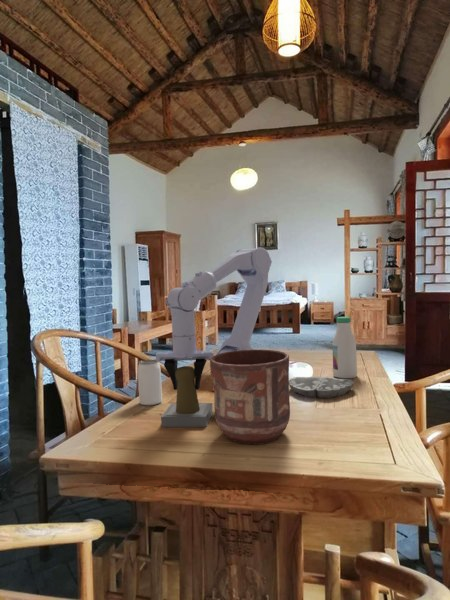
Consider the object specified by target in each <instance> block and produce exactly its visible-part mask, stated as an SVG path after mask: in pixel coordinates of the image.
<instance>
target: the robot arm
mask: <svg viewBox="0 0 450 600" xmlns="http://www.w3.org/2000/svg"><path fill="white" fill-rule="evenodd" d="M272 262H273V261H272V258H271V256H270V254H269V252H268V250H267V249H265V248H264V247H262V246H261V247H260V246H259V247H257V248H256V247H255V248H247V249H237V250H236V251H234V252H232V253H231V254H229V256H228V257H227V258H225V259H224V260H223V261H222V262H220V263H219V264H217V266H215V267H214V268H212V269H211V270H210V271H206V270H202V271H196V272H195V273H194V274H195V276H193V277H192V278H191V279H189V280H188V281H183V282H182V283H181V286H180V287H174V288H172V289H171V290H170V291H169V293H168V295H167V298H166V299H165V303H166V305H167V307H168V308H169V310H170V315H171V330H172V347H173V348H172V351H163V352H156V353H155V360H156V361H159V362H163V361H164V363H163V367H164V368H165V370H166V372H167V374H168V376H169V378H170V380H171V382H172V387H173V390H175V391H177V384H178V380H177V379H176V377H175V371H176V369H177V368H178V364H179V363H178V361H194V362H193V368H194V369H195V378H194V382H195V388H196V390H199V389H200V386H201V380H202V374H203V371H204V369H205V366H206V363H207V360H208V361H210V359H211V358H212V357H213V356H215V355H218V354H221V353H225V352H230V351H238V350H254V348H253V347H252V345H251V344H250V341H251V338H252V334H253V332H254V330H255V327H256V323H257V319H258V316H259V313H260V311H261V306H262V303H263V301H264V298H265V297H264V296H265V294H266V292H267V288H268V283H269V272H270V270H271V269H270V268H271V266H272ZM235 271H236V272H237V273H238V274H239V275H240V277H241V278H242V279H243V281H244V282H245V283H246V288H245V290H244V294H243V297H242V300H241V304H240V306H239V309H238V312H237V315H236V318H235V321H234V324H233V327H232V330H231V333H230V336H229V337H228V338H226V339H225V340H224V341H223V342H222V344H221V346H220V348H219V350H217V352H216V353H215V352H214V350H211V351H210V350H197V342H196V341H197V340H196V323H195V322H196V319H195V317H196V316H195V310H196V308H197V307H198V305H199V303H200V301H201V300H203V299H204V298H205V297H206V296H208V295H209V294H211V293H212V292H214V291H215V289H216V288H217V283H219V282H221V281H222V280H223V279H225V278H226V277H228V276H230V274H231V275H232V273H234V272H235Z"/></svg>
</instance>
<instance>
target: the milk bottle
mask: <svg viewBox="0 0 450 600" xmlns="http://www.w3.org/2000/svg"><path fill="white" fill-rule="evenodd" d="M351 320H352V319H351V317H350V316H337V317H336V321H335V322H336V326H337V327H336V331H335V333H334V335H333V338H332V372H333V373H332V374H333V378H336V379H348V380H349V379H354V378H357V375H358V365H357V364H358V362H357V361H358V360H357V359H358V358H357V355H358V354H357V341H356V338H355V335H354V333H353V331H352V327H351Z"/></svg>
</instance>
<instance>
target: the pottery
mask: <svg viewBox="0 0 450 600" xmlns="http://www.w3.org/2000/svg"><path fill="white" fill-rule="evenodd" d="M209 364H210V365H209V366H210V370H211V378H212V382H213V383H212V384H213V385H212V386H213V393H214V404H213V405H214V419H215V421H216V422H215V423H216V424H217V426H218V428H219V429H220V431H221V432H222V433H223V434H224V436H226V437H227V438H228V439H229V440H230V441H232V442H235V443H238V444H243V445H263V444H267V443H268V444H269V443H271V442H274V441H276V440H278V438H279V437H281V435H282V434H283V433H284V432H285V430H286V429H287V428H288V427H287V426H288V424H289V421H290V418H291V404H290V403H291V402H290V385H289V380H290V379H289V378H290V372H289V371H290V354H288V353H286V352H283V351H280V350H273V349H253V350H237V351H230V352H225V353H221V354H218V355H216V354H214V356H213V357H212V358H211V359H210V360H209Z"/></svg>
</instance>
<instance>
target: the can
mask: <svg viewBox="0 0 450 600" xmlns="http://www.w3.org/2000/svg"><path fill="white" fill-rule="evenodd" d="M159 362H160V361H156V359H147V360H141V361H139V362H138V366H137V379H138V380H137V381H138V397H139V403H140V405H142V406H146V407H147V406H148V407H149V406H156V405H159V404H161V403H162V401H163V389H162V375H161V374H162V371H161V365H160V363H159Z"/></svg>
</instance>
